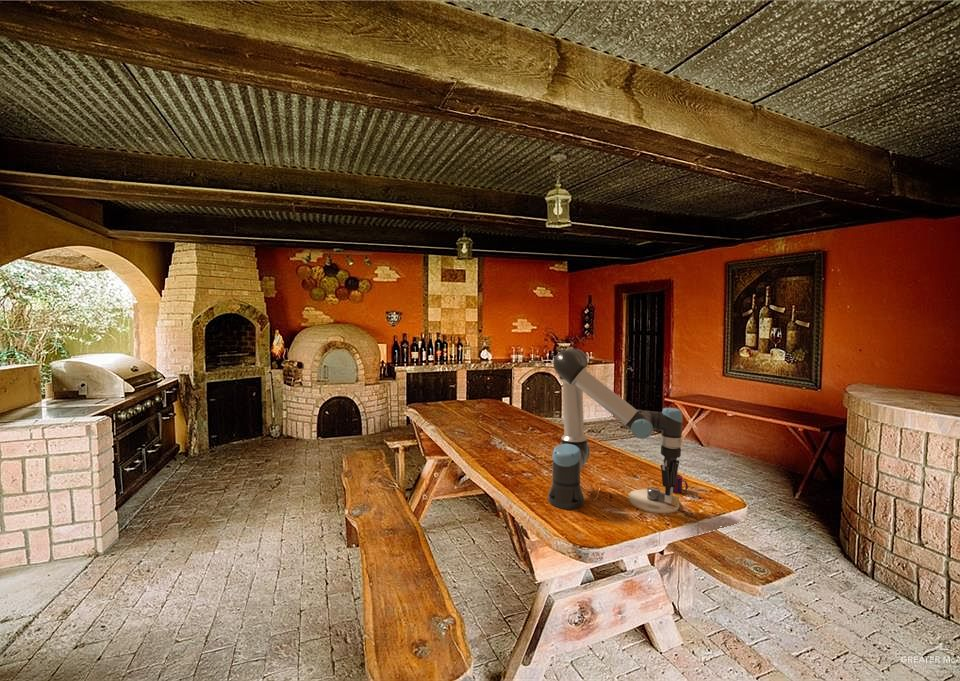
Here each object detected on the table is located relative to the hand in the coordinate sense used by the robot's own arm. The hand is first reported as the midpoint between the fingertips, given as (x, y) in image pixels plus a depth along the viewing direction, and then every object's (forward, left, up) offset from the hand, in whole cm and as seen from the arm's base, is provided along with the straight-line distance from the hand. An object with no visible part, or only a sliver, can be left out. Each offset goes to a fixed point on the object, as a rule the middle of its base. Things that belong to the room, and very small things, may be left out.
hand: (668, 502), depth 173 cm
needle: (-2, +3, -1) cm, 4 cm away
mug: (+4, +20, -3) cm, 21 cm away
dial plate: (-6, +4, -3) cm, 8 cm away
